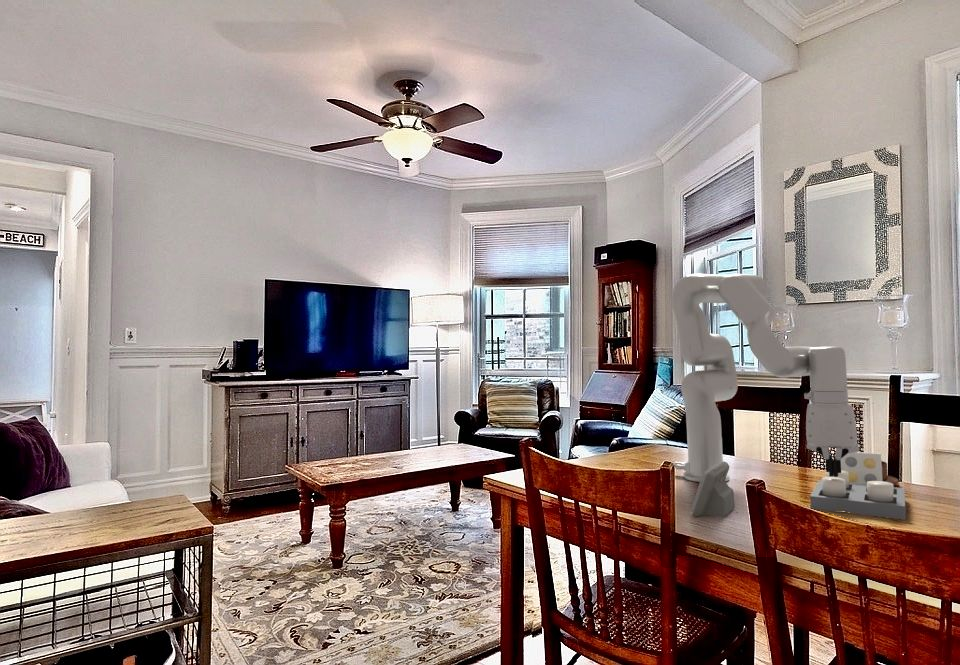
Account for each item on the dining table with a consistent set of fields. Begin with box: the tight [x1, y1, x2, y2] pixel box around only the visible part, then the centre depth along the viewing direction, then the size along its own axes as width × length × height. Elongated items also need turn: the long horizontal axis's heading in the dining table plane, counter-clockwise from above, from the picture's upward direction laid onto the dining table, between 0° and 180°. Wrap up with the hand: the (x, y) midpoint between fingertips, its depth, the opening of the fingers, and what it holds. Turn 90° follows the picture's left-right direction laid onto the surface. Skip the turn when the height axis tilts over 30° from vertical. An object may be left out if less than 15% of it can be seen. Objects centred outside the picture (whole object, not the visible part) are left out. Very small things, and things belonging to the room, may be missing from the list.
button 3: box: [867, 481, 894, 502], centre depth 131 cm, size 5×5×4 cm
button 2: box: [825, 470, 849, 488], centre depth 143 cm, size 5×5×4 cm
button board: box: [809, 479, 907, 521], centre depth 137 cm, size 18×18×3 cm
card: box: [841, 451, 883, 485], centre depth 148 cm, size 10×3×10 cm, turn 54°
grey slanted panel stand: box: [690, 460, 735, 518], centre depth 137 cm, size 16×9×11 cm, turn 131°
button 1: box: [821, 476, 846, 497], centre depth 136 cm, size 5×5×4 cm
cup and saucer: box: [881, 460, 899, 486], centre depth 156 cm, size 12×12×6 cm
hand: (833, 475), depth 136 cm, fingers closed
